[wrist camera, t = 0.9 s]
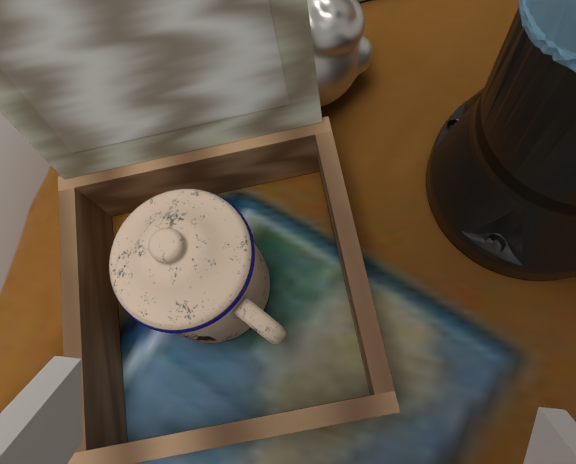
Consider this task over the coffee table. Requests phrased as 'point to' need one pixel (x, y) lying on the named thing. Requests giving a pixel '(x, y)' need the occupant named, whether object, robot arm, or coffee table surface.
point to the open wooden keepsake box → (172, 167)
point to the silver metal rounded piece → (338, 45)
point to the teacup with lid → (192, 269)
